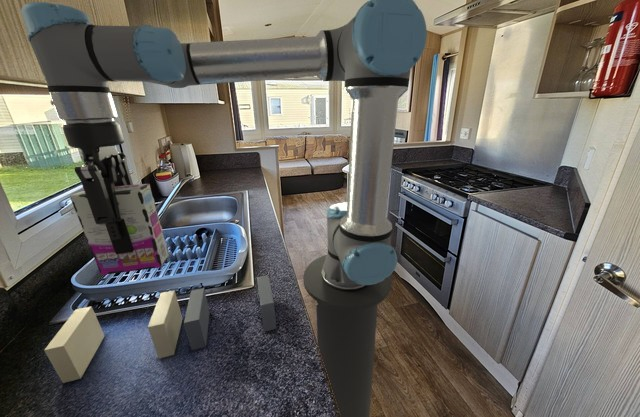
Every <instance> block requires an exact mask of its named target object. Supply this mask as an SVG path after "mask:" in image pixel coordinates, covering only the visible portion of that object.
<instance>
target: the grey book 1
mask: <svg viewBox="0 0 640 417" xmlns="http://www.w3.org/2000/svg"><path fill="white" fill-rule="evenodd" d="M210 313H211V312H210V308H209V302H208V299H207V294H206V290H205V287H202V288H197V289H191V290H190V294H189V298H188V303H187V308H186V311H185V315H184V320H183V326H184V328H185V332H186V336H187V339H188V343H189V347H190V349H191V351H195V350H199V349H203V348H207V340H208V330H209V322H210V315H211V314H210Z"/></svg>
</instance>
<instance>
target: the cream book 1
mask: <svg viewBox="0 0 640 417" xmlns="http://www.w3.org/2000/svg"><path fill="white" fill-rule="evenodd" d="M105 335H106V334H104V331H103V329H102V326H101V324H100V322H99V320H98V317H97V315H96V313H95V311H94V308H93V306H86V307H81V308H76V309H75V310H74V311H73V312H72V314H71V315H70V317H68V319H67V320H66V321H65V323H64V324H63V325H62V326H61V328H60V329H59V330H58V332H57V333H56V334H55V335H54V336H53V337H52V340H50V342H49V343H48V345H47V346H46V347H45V348H44V350H43V351H44V353H45V355H46V356H47V358H48V360H49V362H50V363H51V365H52V367H53V369H54V370H55V372H56V374H57V376H58V378H59V379H60V381H61V383H62V384H65V383H69V382H73V381H76V380H80V379H82V377H83V376H84V374H85V372H86V370H87V368H88V367H89V365H90V364H91V362H92V359H93V358H94V356H95V354H96V352H97V351H98V349H99V347H100V345H101V344H102V342H103V340H104V338H105Z"/></svg>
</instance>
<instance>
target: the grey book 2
mask: <svg viewBox="0 0 640 417" xmlns="http://www.w3.org/2000/svg"><path fill="white" fill-rule="evenodd" d="M256 282H257V290H258V296H259V303H260V304H259V305H260V311H261V318H262V324H263V325H262V326H263V332H269V331H272V330H277V329H278V328H277V327H278V326H277V319H276V318H277V316H276V310H275V301H274V297H273V292H272V287H271V283H270V276H269V275H268V274H267V275H262V276H257V277H256Z"/></svg>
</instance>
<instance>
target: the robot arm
mask: <svg viewBox="0 0 640 417" xmlns="http://www.w3.org/2000/svg"><path fill="white" fill-rule="evenodd" d="M20 12H21V16H22V19H23V24H24V26H25V30H26V33H27V41H28V42H29V44H30V46H31V48H32V51H33V53H34V55H35V58H36V60H37V62H38V65H39V68H40V71H41V73H42V76H43V78H44V81H45V83H46V88H47V89H48V93H49V96H50V98H51V99H50V102H49V103H50V105H51V106H53V107H54V110H55V112H56V115H57V118H58V119H59V120H61V121H64V122H65V123H63V124H62V125H61V129H62V132H63V136H64V138H65V141H66V143H67V146H68V147H70V148H72V149H79V150H80V151H81V154H82V161H83V165H79V166H78V165H77V166H75V167H74V172H75V174H76V176H77V177H78V179H79V181H80V182H81V186H82V188H83V190H84V191H85V194H86V197H87V200H88V203H89V205H90V208H91V211H92V214H93V217H94V220H95V222H96V224H105V225H106V228H107V231H108V234H109V236H110V239H111V242H112V245H113V248H114V251H115V253H116V254H123V253H130V252H133V251H134V249H133V246H132V242H131V239H130V236H129V233H128V230H127V227H126V224H125V221H124V219H121V217H120V212H119V207H118V202H117V198H116V195H115V192H116V191H115V186H124V185H134V182H133V179H132V176H131V172H130V168H129V165H128V161H127V154H126V153H125V152H119V151H118V150H117V148H116V146H119V145H123V144H124V143H125V138H124V134H123V131H122V127H121V125H120V123H119V122H118V121H115V119H117V118H118V113H117V109H116V105H115V102H114V98H113V95H112V93H111V90H110V85H109V82H112V83H113V82H116V83H117V82H134V83H135V82H136V83H138V82H141V83H142V82H143V83H149V84H150V83H151V84H156V85H162V86H166V87H170V88H171V89H172V88H173V89H184V88H187V87H189V86H190V87H191V86H199V85H200V86H201V85H215V84H230V83H232V84H233V83H245V82H246V83H247V82H260V81H274V80H275V81H277V80H290V79H302V78H303V79H304V78H319V79H320V80H321V82H344V91H345V93H346V94H347V95H348V96H349V97H350V100H351V114H350V138H349V160H348V182H347V201H346V202H339V203H338V202H337V203H335V204H332V205H330V206H329V207H328V208H327V213H326V227H327V228H326V229H327V230H326V232H327V233H326V234H327V254H326V255H327V257H326V259H325V262H324V265H323V268H322V272H321V273H322V278H323V280H324V282H325V283H326V284H327V285H328V286H330V287H332V288H334V289H336V290H340V291H349V292H350V291H358V290H361V289H363V288H365V287H367V286H368V285H373V284H376V283H379V282H381V281H383V280H384V279H385V278H387V277H389V276H390V275H391V276H392V273H394V271H395V269H396V268H397V265H398V255H397V253H396V250H395V248H394V247H393V246H392V244H391V242H392V233H393V232H392V231H393V223H392V222H391V220H390V219H389V218H387V211H388V202H389V192H390V184H391V172H392V165H393V155H394V146H395V136H396V128H397V127H396V126H397V116H398V108H399V101H400V98H401V97H403V95H404V94H405V93H407V92H408V90H409V86H410V77H411V69H412V68H414V67H415V65H416V64H418V61H419V60H420V59H421V57H422V55H423V53H424V51H425V47H426V44H427V36H428V33H427V32H428V31H427V30H428V29H427V22H426V19H425V16H424V14H423V12H422V10H421V9H420V8H419V7H418V5H417V4H416V1H414V0H367V1H366V2H365V3H363V4H362V5H361V7H359V8H358V9H357V12H356V14H355V15H354V16H353V17H352V18H351V19H350V20H349V22H347V23H346V24H344V25H342V26H340V27H337V28H333V29H324V30H323V29H321V30H319V31H318V33H317V34H316V35H315V36H301V37H299V36H297V37H281V38H279V37H278V38H260V39H259V38H258V39H241V40H240V39H239V40H237V39H236V40H221V41H220V40H218V41H200V42H188V43H187V42H182V43H181V41H180V40H179V39H178V36H177V34H176V33H175V31H173V30H172V29H170V28H167V27H160V26H152V25H150V24H144V25H98V24H97V25H96V24H92V22H91V20H90V18H89V15H88V14H86V13H85V11H84V12H83V11H82V10H80V9H78V8H76V7H72V6H70V5H66V4H65V5H64V4H60V3H59V4H58V3H51V2H46V1H31V2H27V3H25V4H24V5H22V7H21V10H20Z"/></svg>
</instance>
